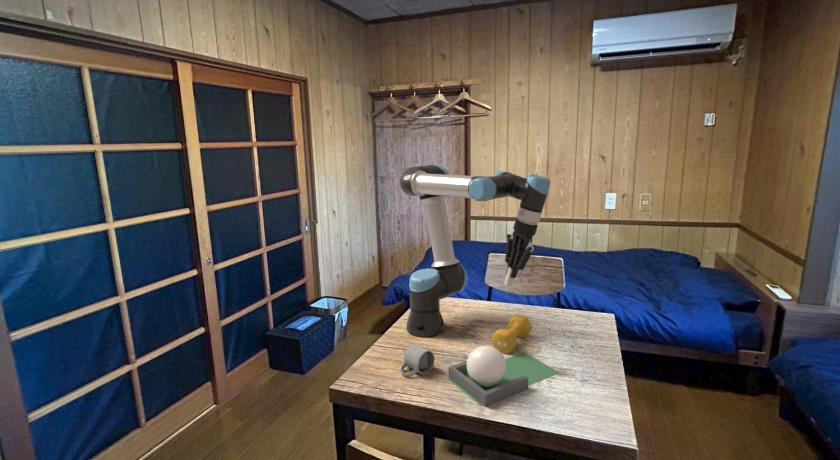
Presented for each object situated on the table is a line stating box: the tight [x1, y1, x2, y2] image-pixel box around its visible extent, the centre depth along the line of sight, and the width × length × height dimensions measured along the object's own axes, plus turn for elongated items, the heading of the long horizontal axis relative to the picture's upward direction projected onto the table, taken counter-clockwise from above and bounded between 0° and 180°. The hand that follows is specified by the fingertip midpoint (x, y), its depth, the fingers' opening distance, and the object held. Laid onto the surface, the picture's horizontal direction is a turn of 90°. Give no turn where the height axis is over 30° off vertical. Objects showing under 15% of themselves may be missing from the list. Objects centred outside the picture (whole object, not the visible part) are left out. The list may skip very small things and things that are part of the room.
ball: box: [466, 345, 507, 387], centre depth 130 cm, size 12×12×12 cm
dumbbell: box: [491, 314, 533, 355], centre depth 156 cm, size 19×9×8 cm, turn 145°
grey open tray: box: [447, 360, 529, 407], centre depth 131 cm, size 18×16×4 cm
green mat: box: [448, 352, 560, 407], centre depth 135 cm, size 16×32×1 cm, turn 121°
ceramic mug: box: [399, 345, 436, 378], centre depth 139 cm, size 11×8×8 cm
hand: (508, 284), depth 150 cm, fingers closed
